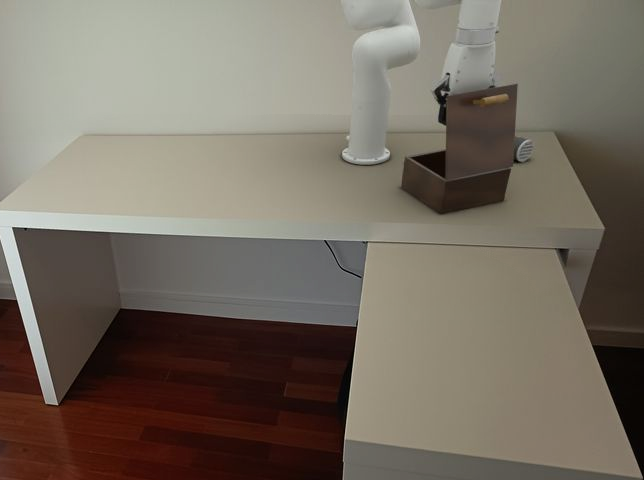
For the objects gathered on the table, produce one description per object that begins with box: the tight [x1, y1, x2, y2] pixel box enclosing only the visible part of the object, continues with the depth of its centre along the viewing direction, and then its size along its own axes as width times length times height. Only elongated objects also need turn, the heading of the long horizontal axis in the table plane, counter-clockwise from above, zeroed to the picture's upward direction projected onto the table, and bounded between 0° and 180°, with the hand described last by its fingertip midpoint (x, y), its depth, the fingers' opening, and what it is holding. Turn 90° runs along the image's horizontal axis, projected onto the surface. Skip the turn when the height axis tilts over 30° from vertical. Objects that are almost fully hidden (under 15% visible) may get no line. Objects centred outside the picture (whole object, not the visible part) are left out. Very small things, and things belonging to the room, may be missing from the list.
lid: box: [445, 83, 519, 180], centre depth 138 cm, size 17×17×5 cm
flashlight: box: [513, 135, 535, 163], centre depth 170 cm, size 15×5×5 cm, turn 25°
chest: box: [400, 148, 512, 215], centre depth 152 cm, size 17×17×8 cm
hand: (459, 120), depth 145 cm, fingers closed on alien toy, 7 cm apart
